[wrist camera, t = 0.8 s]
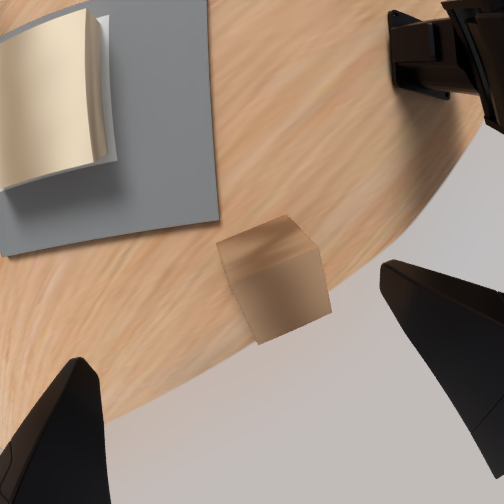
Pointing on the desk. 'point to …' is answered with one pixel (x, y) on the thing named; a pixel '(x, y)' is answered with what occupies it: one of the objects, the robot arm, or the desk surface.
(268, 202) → the desk surface
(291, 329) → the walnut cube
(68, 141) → the maple slab
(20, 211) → the build mat
